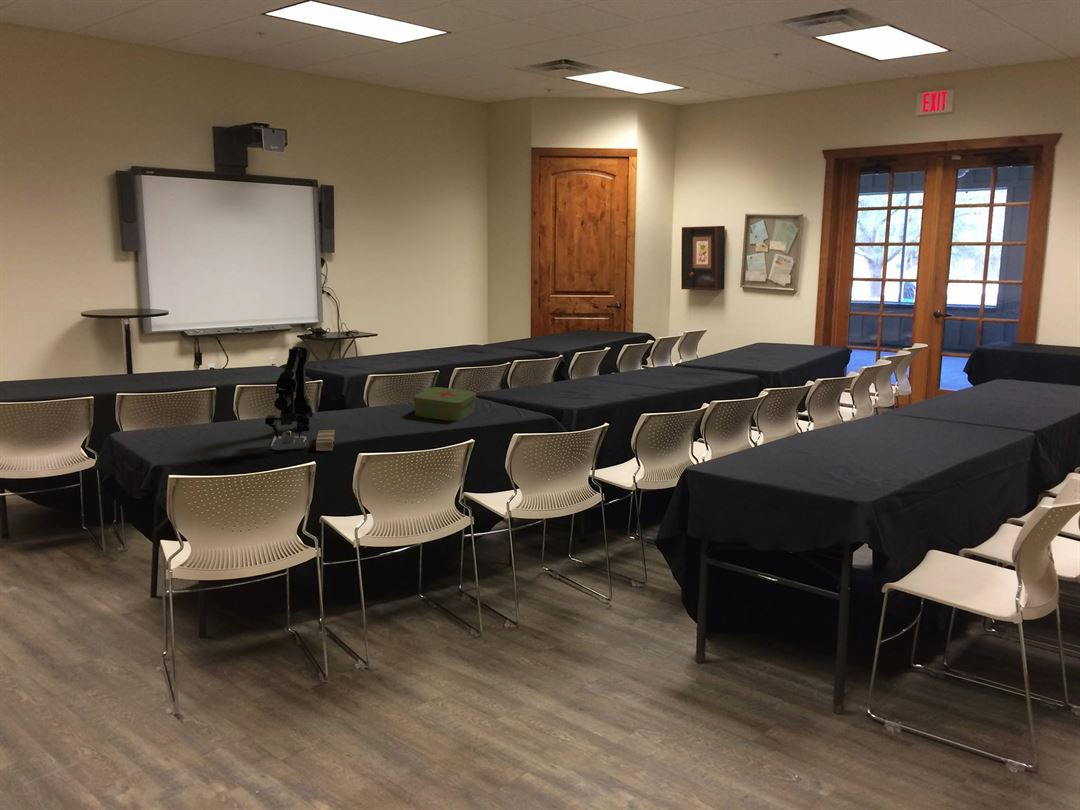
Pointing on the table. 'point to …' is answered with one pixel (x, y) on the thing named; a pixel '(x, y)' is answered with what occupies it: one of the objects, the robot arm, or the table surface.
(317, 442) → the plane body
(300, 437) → the parts tray
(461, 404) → the first aid kit
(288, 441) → the dark grey block
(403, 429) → the table surface
